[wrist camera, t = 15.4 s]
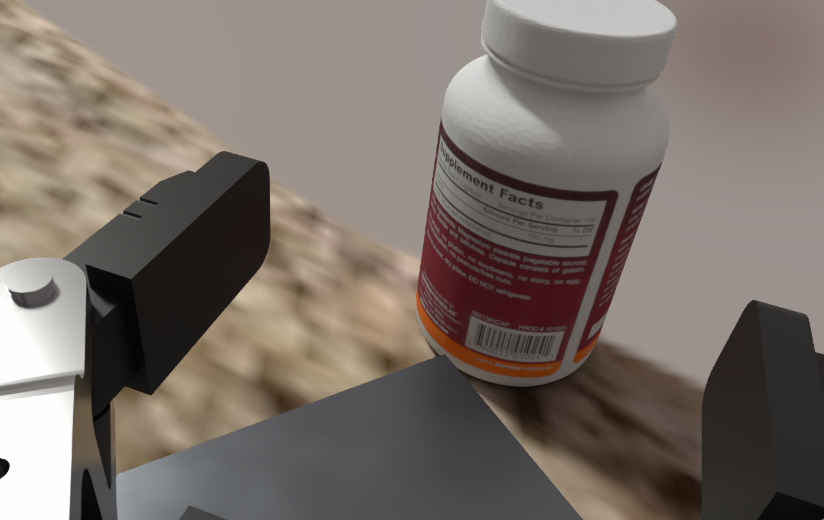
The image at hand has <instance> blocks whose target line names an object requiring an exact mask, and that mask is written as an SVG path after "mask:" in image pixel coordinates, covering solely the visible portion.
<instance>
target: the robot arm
mask: <svg viewBox="0 0 824 520" xmlns="http://www.w3.org/2000/svg"><path fill="white" fill-rule="evenodd" d="M269 243H270V176H269V169H268V166H267V164H266V163H265V162H262V161H259V160H255V159H251V158H248V157H244V156H241V155H237V154H233V153H230V152H226V151H222V152H220V153H218V154H217V155H215V156H214V157H213V158H212V159H211V160H209V161H208V162H207V163H206V164H205V165H203V166H202V167H201V168H200V169H199V170H197V171H196V172H192V171H189V170H188V171H186V172H183V173H181V174H178V175H175V176H173V177H170V178H168V179H165V180H163V181H160V182H159V183H158V184H156V185H155V186H154V187H153V188H151V189H150V190H149V191H148V192H146V193H145V194H144V195H143V196H141V197H140V200H139V201H135V202H134V203H132V204H131V205H130V206H129V207H127V208H126V209H125V210H124V212H123V214H119V215H117V216H116V217H115V218H114V219H112V220H111V221H110V222H109V223H107V224H106V225H105V226H104V227H102V228H101V229H100V230H98V231H97V232H96V233H95V234H93V235H92V236H91V237H90V238H88V239H87V240H86V241H85V242H83V243H82V244H81V245H80V246H78V247H77V248H76V249H75V250H73V251H72V252H71V253H70V254H68V255H67V256H66V257H65V258H63V259H57V258H46V257H43V258H31V259H25V260H21V261H17V262H14V263H11V264H8V265H6V266H4V267H1V268H0V520H118V515H117V497H116V445H115V408H114V403H113V398H114V397H115V396H116V395H117V394H118V393H119V392H120V391H121V390H122V388H123V387H124V386H126V387H129V388H132V389H134V390H137V391H140V392H143V393H146V394H148V395H152V394H153V393H154V391H155V390H156V389H157V388H158V387H159V386H160V384H161V383H162V382H163V381H164V380H165V379H166V377H167V376H168V375H169V374H170V373H171V372H172V370H173V369H174V368H175V367H176V366H177V365H178V363H179V362H180V361H181V360H182V359H183V358H184V356H185V355H186V354H187V353H188V352H189V351H190V349H191V348H192V347H193V346H194V345H195V344H196V342H197V341H198V340H199V339H200V338H201V336H202V335H203V334H204V333H205V332H206V331H207V329H208V328H209V327H210V326H211V325H212V324H213V322H214V321H215V320H216V319H217V318H218V317H219V315H220V314H221V313H222V312H223V311H224V310H225V308H226V307H227V306H228V305H229V304H230V303H231V301H232V300H233V299H234V298H235V297H236V296H237V294H238V293H239V292H240V291H241V290H242V289H243V287H244V286H245V285H246V284H247V283H248V281H249V280H250V279H251V278H252V277H253V276H254V274H255V273H256V272H257V271H258V270H259V268H260V267H261V265H262V264H263V262H264V259H265V257H266V254H267V252H268V248H269ZM179 520H227V519H224V518H221V517H219V516H216V515H214V514H211V513H209V512H206V511H203V510H201V509H198V508H196V507H193V506H190V505H189V506H188V507H187V509H186V510H185V512H184V513H183V515H182V516H181V518H180V519H179ZM702 520H824V354H820V353H816V352H815V349H814V344H813V338H812V333H811V328H810V323H809V319H808V317H807V315H805V314H803V313H799V312H795V311H792V310H788V309H785V308H781V307H778V306H774V305H770V304H767V303H763V302H760V301H756V300H752V301H751V302H750V303H749V304H748V305H747V307H746V308H745V309H744V311H743V313H742V315H741V317H740V318H739V321H738V322H737V324H736V326H735V328H734V330H733V331H732V333H731V335H730V337H729V339H728V341H727V343H726V344H725V346H724V348H723V350H722V352H721V354H720V356H719V358H718V359H717V361H716V363H715V365H714V367H713V369H712V371H711V373H710V376H709V378H708V381H707V384H706V388H705V392H704V396H703V403H702Z"/></svg>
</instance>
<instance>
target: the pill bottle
mask: <svg viewBox="0 0 824 520" xmlns="http://www.w3.org/2000/svg"><path fill="white" fill-rule="evenodd" d="M676 29H677V20H676V17H675V16H674V14H673V13H672V12H671V11H670V10H669V9H667V8H666V7H665V6H664V5H662V4H660V3H659V2H657V1H655V0H487V5H486V10H485V15H484V20H483V24H482V28H481V35H482V38H481V45H482V47H483V49H484V51H485V52H486V54H487V55H485V56H482V57H479V58H477V59H475V60H473V61H472V62H470V63H469V64H467V65H466V66H465V67H464V68H462V69H461V70H460V71H459V72H458V73H457V74H456V75H455V77H454V78H453V79H452V81H451V83H450V84H449V86H448V88H447V91H446V94H445V98H444V103H443V110H442V115H441V122H440V129H439V135H438V144H437V150H436V158H435V164H434V170H433V178H432V187H431V193H430V201H429V208H428V214H427V222H426V227H425V237H424V244H423V251H422V258H421V265H420V272H419V279H418V286H417V294H416V316H417V320H418V324H419V327H420V329H421V331H422V333H423V335H424V337H425V338H426V340H427V341H428V343H429V344H430V345H431V347H432V348H433V349H434V350H435V351H436V352H437V353H438V354H439V355H443V354H446V356H447V357H448V358H449V359H450V360H451V362H452V363H453V364H454V365H455V366H456V368H458V369H460V370H461V371H463V372H465V373H467V374H469V375H472V376H474V377H476V378H479V379H482V380H485V381H488V382H492V383H496V384H501V385H507V386H517V387H528V386H536V385H542V384H546V383H550V382H553V381H556V380H559V379H561V378H563V377H565V376H568V375H569V374H571V373H572V372H574V371H575V370H576V369H578V368H579V367H580V366H581V365H582V364H583V363H584V362H585V360H586V359H587V358H588V356H589V355H590V353H591V352H592V350H593V348H594V346H595V343H596V341H597V339H598V337H599V334H600V332H601V328H602V325H603V323H604V320H605V318H606V314H607V312H608V309H609V306H610V304H611V301H612V298H613V295H614V293H615V290H616V286H617V284H618V281H619V279H620V276H621V273H622V270H623V268H624V265H625V262H626V259H627V257H628V254H629V251H630V248H631V246H632V243H633V240H634V237H635V234H636V232H637V229H638V226H639V223H640V221H641V218H642V216H643V213H644V209H645V207H646V204H647V201H648V198H649V196H650V193H651V191H652V188H653V185H654V182H655V179H656V177H657V174H658V171H659V169H660V167H661V163H662V160H663V158H664V154H665V150H666V147H667V144H668V140H669V122H668V117H667V113H666V111H665V109H664V106H663V105H662V103H661V101H660V100H659V98H658V97H657V95H656V94H655V93H654V92H653V91H652V90H651V89H650V88H649V87H648V85H650V84H652V83H653V82H655V81H656V80H657V78H658V77H659V75H660V73H661V72H662V71H663V69H664V66H665V63H666V60H667V57H668V54H669V51H670V48H671V45H672V41H673V38H674V35H675V31H676Z"/></svg>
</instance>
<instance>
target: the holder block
mask: <svg viewBox="0 0 824 520" xmlns="http://www.w3.org/2000/svg"><path fill="white" fill-rule="evenodd" d="M116 497H117V515H118V520H179V519H180V518H181V516H182V515H183V513H184V512H185V510H186V509H187V507H188V506H189V505H190V506H193V507H196V508H198V509H201V510H203V511H206V512H209V513H211V514H214V515H216V516H219V517H221V518H224V519H227V520H583V519H582V518H581V517H580V516H579V515H578V513H577V512H576V511H575V510H574V508H573V507H572V506H571V505H570V504H569V502H568V501H567V500H566V499H565V498H564V496H563V495H562V494H561V493H560V492H559V490H558V489H557V488H556V487H555V486H554V484H553V483H552V482H551V481H550V480H549V478H548V477H547V476H546V475H545V474H544V472H543V471H542V470H541V469H540V468H539V466H538V465H537V464H536V463H535V462H534V460H533V459H532V458H531V457H530V456H529V454H528V453H527V452H526V451H525V450H524V448H523V447H522V446H521V445H520V443H519V442H518V441H517V440H516V439H515V437H514V436H513V435H512V434H511V433H510V431H509V430H508V429H507V428H506V427H505V425H504V424H503V423H502V422H501V421H500V419H499V418H498V417H497V416H496V415H495V413H494V412H493V411H492V410H491V409H490V407H489V406H488V405H487V404H486V403H485V401H484V400H483V399H482V398H481V397H480V395H479V394H478V393H477V392H476V391H475V389H474V388H473V387H472V386H471V385H470V383H469V382H468V381H467V380H466V378H465V377H464V376H463V375H462V374H461V372H460V371H459V370H458V369H457V368H456V366H455V365H454V364H453V363H452V362H451V360H450V359H449V358H448V357H447V356H446V354H443V355H440V356H437V357H435V358H432V359H429V360H426V361H424V362H421V363H418V364H416V365H413V366H410V367H407V368H405V369H402V370H399V371H397V372H394V373H391V374H389V375H386V376H383V377H380V378H378V379H375V380H372V381H370V382H367V383H364V384H361V385H359V386H356V387H353V388H351V389H348V390H345V391H342V392H340V393H337V394H334V395H332V396H329V397H326V398H323V399H321V400H318V401H315V402H313V403H310V404H307V405H304V406H302V407H299V408H296V409H294V410H291V411H288V412H286V413H283V414H280V415H277V416H275V417H272V418H269V419H267V420H264V421H261V422H258V423H256V424H253V425H250V426H248V427H245V428H242V429H239V430H237V431H234V432H231V433H229V434H226V435H223V436H220V437H218V438H215V439H212V440H210V441H207V442H204V443H201V444H199V445H196V446H193V447H191V448H188V449H185V450H182V451H180V452H177V453H174V454H172V455H169V456H166V457H164V458H161V459H158V460H155V461H153V462H150V463H147V464H145V465H142V466H139V467H136V468H134V469H131V470H128V471H126V472H123V473H120V474H117V475H116Z"/></svg>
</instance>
